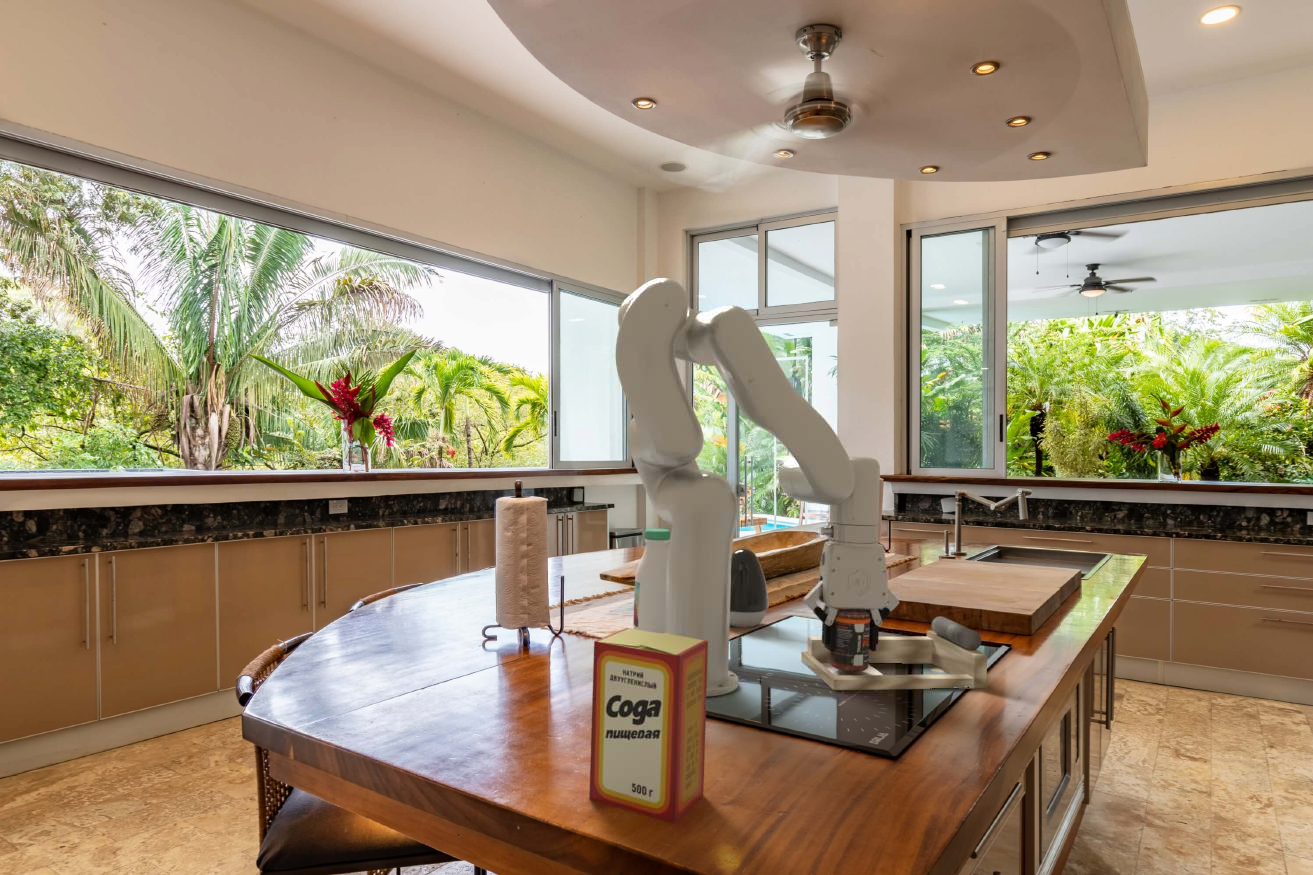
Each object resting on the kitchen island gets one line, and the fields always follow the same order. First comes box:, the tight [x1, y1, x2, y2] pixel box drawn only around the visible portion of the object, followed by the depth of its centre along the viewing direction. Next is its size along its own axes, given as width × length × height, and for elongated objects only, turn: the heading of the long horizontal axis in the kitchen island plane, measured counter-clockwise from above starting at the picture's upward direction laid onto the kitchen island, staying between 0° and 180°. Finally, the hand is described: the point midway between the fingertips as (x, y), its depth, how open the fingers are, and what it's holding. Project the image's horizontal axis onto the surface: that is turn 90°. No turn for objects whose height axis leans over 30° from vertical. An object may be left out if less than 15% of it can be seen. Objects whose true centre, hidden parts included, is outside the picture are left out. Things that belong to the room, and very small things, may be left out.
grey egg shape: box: [729, 547, 769, 629], centre depth 152 cm, size 10×10×15 cm
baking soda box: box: [588, 627, 708, 824], centre depth 76 cm, size 10×6×16 cm
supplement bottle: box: [830, 609, 870, 672], centre depth 120 cm, size 6×6×11 cm
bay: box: [800, 616, 988, 691], centre depth 121 cm, size 24×15×8 cm, turn 97°
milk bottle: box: [632, 528, 671, 634], centre depth 137 cm, size 8×8×20 cm
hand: (849, 647), depth 120 cm, fingers closed on supplement bottle, 6 cm apart
